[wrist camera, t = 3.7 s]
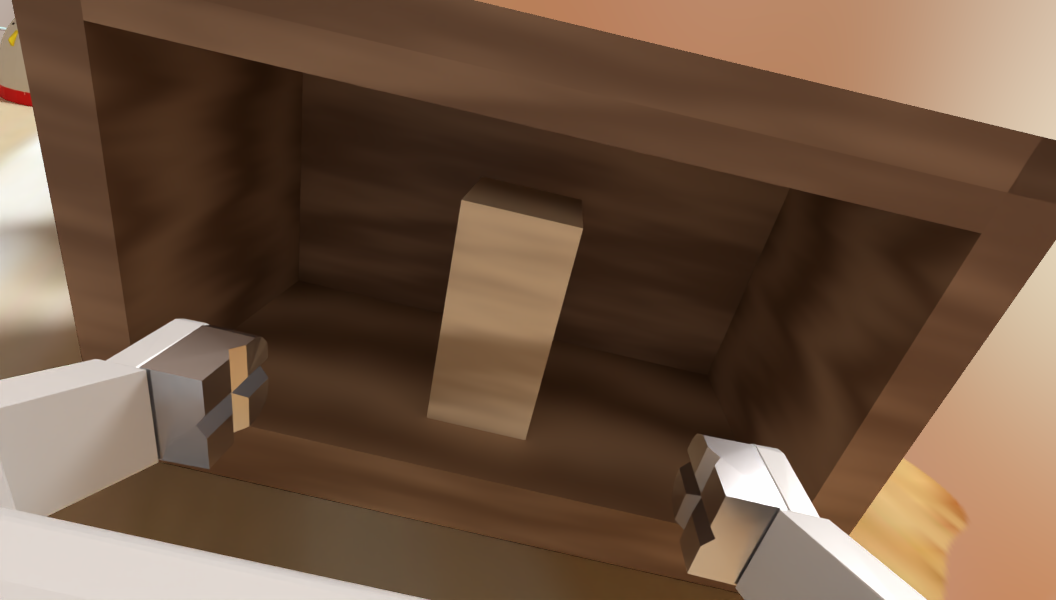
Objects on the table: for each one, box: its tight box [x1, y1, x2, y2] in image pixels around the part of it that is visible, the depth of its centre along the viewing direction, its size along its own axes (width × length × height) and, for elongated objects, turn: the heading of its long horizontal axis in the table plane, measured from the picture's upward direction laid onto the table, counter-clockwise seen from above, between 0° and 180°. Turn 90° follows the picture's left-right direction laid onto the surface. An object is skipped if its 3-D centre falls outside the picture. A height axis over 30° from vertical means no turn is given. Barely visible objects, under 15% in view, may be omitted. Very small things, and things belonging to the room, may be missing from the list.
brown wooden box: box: [12, 0, 1056, 593], centre depth 23 cm, size 14×30×19 cm, turn 85°
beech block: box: [427, 176, 583, 440], centre depth 22 cm, size 4×4×10 cm
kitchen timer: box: [0, 18, 33, 107], centre depth 65 cm, size 14×14×15 cm
